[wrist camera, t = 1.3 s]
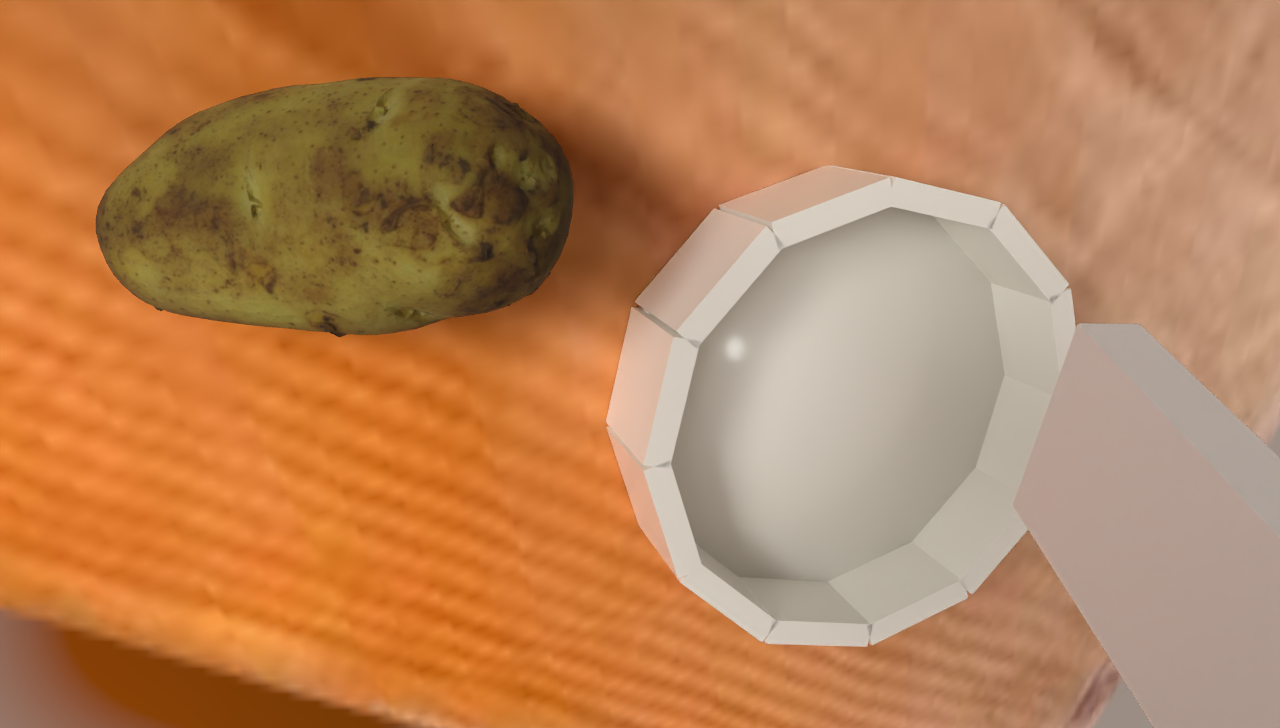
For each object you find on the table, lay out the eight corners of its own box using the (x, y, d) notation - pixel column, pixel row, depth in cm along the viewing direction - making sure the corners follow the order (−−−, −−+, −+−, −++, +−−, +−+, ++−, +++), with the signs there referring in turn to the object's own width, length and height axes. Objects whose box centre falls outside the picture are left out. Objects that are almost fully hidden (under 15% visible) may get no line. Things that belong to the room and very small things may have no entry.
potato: (131, 7, 29) (73, -13, 21) (548, 104, 33) (616, 113, 26) (105, 280, 30) (43, 347, 23) (504, 336, 35) (557, 406, 28)
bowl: (681, 654, 41) (723, 718, 37) (552, 266, 35) (586, 292, 31) (1028, 490, 45) (1100, 532, 41) (971, 111, 39) (1050, 116, 34)
